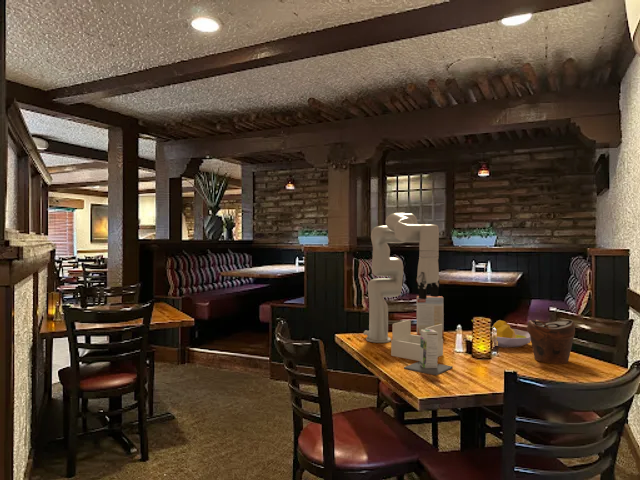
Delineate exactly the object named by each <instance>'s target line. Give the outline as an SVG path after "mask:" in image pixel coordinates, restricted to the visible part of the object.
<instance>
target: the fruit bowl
mask: <svg viewBox="0 0 640 480" xmlns="http://www.w3.org/2000/svg"><path fill="white" fill-rule="evenodd" d="M473 320H474V319H471V320H470V321H471V323H473ZM493 327H495V328H496V329H497V341H498V346H497V347H499V348H519V347H522V346H525V345H527V344H530V343H531V338H530V334H529V333H528V331H526V330H520V329H518V328H517V329H516V328H511V325H510V324H509V323H508V322H507V321H505V320H501V319H499V320H496V322H494V323H493V325H492V326H491V328H493Z"/></svg>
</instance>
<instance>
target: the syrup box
mask: <svg viewBox="0 0 640 480" xmlns="http://www.w3.org/2000/svg"><path fill="white" fill-rule="evenodd" d="M419 336H420V365H421V366H422V367H423V368H437V364H438V358H439V357H438V332H436V331H434V330H431V329H422V330H421V335H419Z"/></svg>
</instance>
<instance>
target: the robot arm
mask: <svg viewBox="0 0 640 480" xmlns="http://www.w3.org/2000/svg"><path fill="white" fill-rule="evenodd" d="M439 231H440V230H439V226H438V225H437V224H418V219H417V216H416V215H414V214H413V213H411V212H410V213H405V212H395V213H390V214H389V215H388V216H387V217H386V219H385V225H378V226H377V225H376V226H375V227H373V228H372V229H371V235H370V239H371V244H372V261H371V273H372V274H373V276H376V277H383V278H373V279H370V280H369V281H368V283H367V293H368V294H367V295H368V302H369V303H368V304H369V306H368V309H369V311H368V312H369V313H368V315H369V317H368V318H369V319H368V321H369V322H368V323H369V325H368V329H369V330H364V331H363V335H366V338H365V340H366V342H370V343H377V344H384V343H385V344H386V343H389V342H391V340H392V338H391V337H389V333H388V332H389V306H388V303H387V302H386V300H385V299H384V298H393V297H394V298H395V297H399V296H400V295H401V293H402V290H403V277H404V264H403V262H402V259H400V258H398V257H390V254H391V249H390V246H389V244H403V243H419V248H418V250H419V252H418V253H419V255H418V256H419V257H418V258H419V259H418V264H417V274H416V275H417V276H416V281H417V289H418V296H419V299H427V296H428V295H427V293H428V292H427V291H428V290H427V286H428V285H429V284H430V296H432V297H438V296H439V287H440V280H441V275H440V273H439V272H440V269H439V267H440V266H439V260H440V259H439V256H440V255H439V254H440V253H439V250H440V249H439V247H440V246H439V245H440V244H439V241H440V239H439V237H440V236H439V235H440V234H439ZM386 277H389V278H386Z"/></svg>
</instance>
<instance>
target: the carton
mask: <svg viewBox="0 0 640 480" xmlns="http://www.w3.org/2000/svg"><path fill="white" fill-rule="evenodd" d="M411 323H412V321H411V319H407V320H403V321H399V322H394V323H392V325H391V326H392V332H391V333H392V334H391V335H392V336H391V337H392V338H391V341H390V342H391V343H390V344H391V345H390V346H391V349H390V350H391V352H390V355H391V356H392V357H396V358H401V359H402V358H403V359H407V360H413V361H416V362H419V361H420V336H421V335H418V334H411V333H412V331H411V329H412V328H411V327H412V326H411V325H412V324H411ZM425 329H431V330H434V331H436V332H438V357H437V358H439V357H441V356H442V357H443V355H444V339H443V335H442V324H439V325H435V326H432V327H428V328H425Z"/></svg>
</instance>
